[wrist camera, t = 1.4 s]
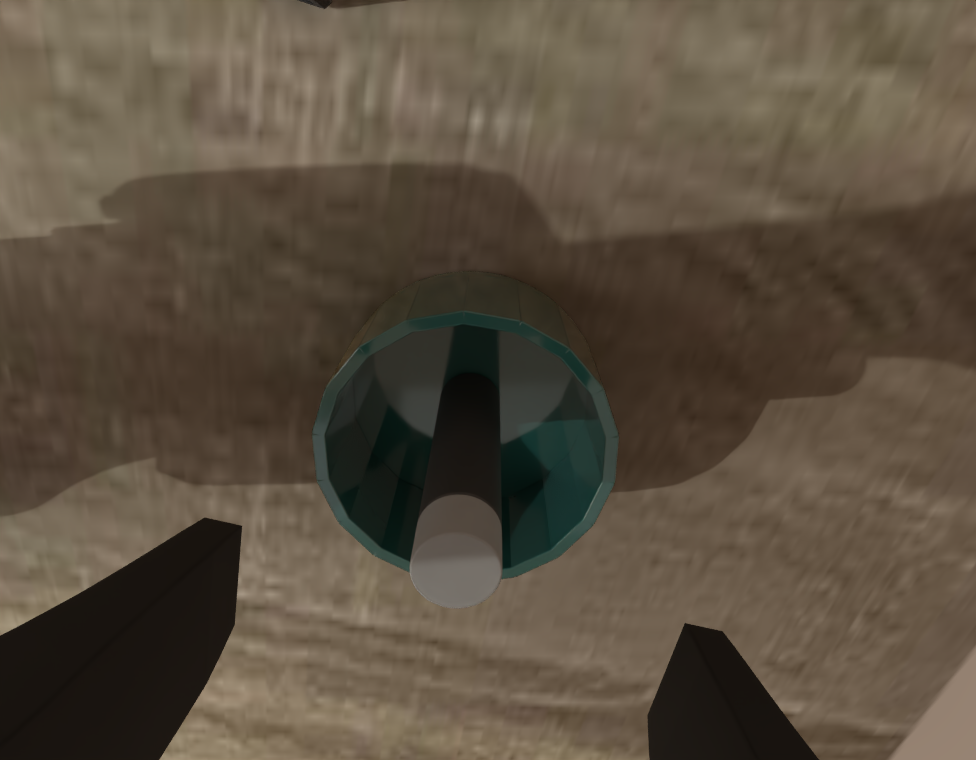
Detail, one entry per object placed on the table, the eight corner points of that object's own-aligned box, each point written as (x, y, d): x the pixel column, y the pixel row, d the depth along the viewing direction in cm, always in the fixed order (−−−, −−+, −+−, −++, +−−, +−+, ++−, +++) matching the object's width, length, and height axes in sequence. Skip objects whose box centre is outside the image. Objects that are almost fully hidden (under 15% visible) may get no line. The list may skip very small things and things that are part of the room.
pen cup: (514, 536, 23) (518, 624, 19) (303, 431, 22) (262, 503, 18) (646, 352, 21) (681, 411, 17) (417, 219, 19) (398, 250, 16)
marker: (466, 437, 21) (450, 624, 14) (428, 395, 21) (389, 567, 13) (511, 403, 21) (521, 577, 13) (473, 360, 20) (460, 516, 13)
